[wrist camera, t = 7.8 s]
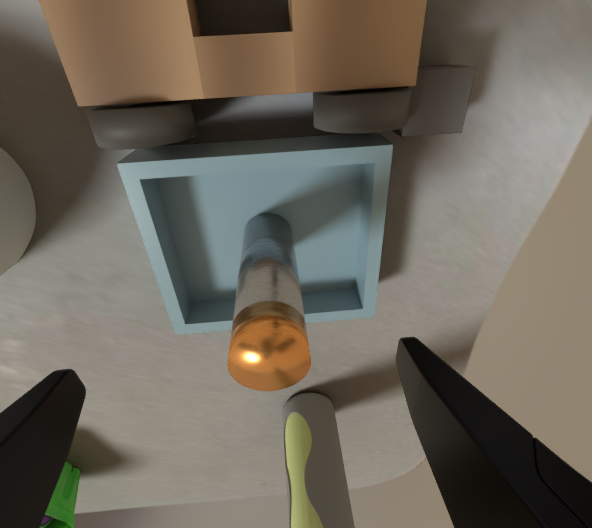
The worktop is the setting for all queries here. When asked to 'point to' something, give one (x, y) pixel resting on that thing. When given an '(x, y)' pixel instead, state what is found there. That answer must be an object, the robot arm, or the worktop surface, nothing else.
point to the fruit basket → (63, 500)
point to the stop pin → (268, 309)
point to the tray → (255, 200)
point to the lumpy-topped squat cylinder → (14, 212)
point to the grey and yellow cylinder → (314, 465)
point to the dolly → (253, 67)
